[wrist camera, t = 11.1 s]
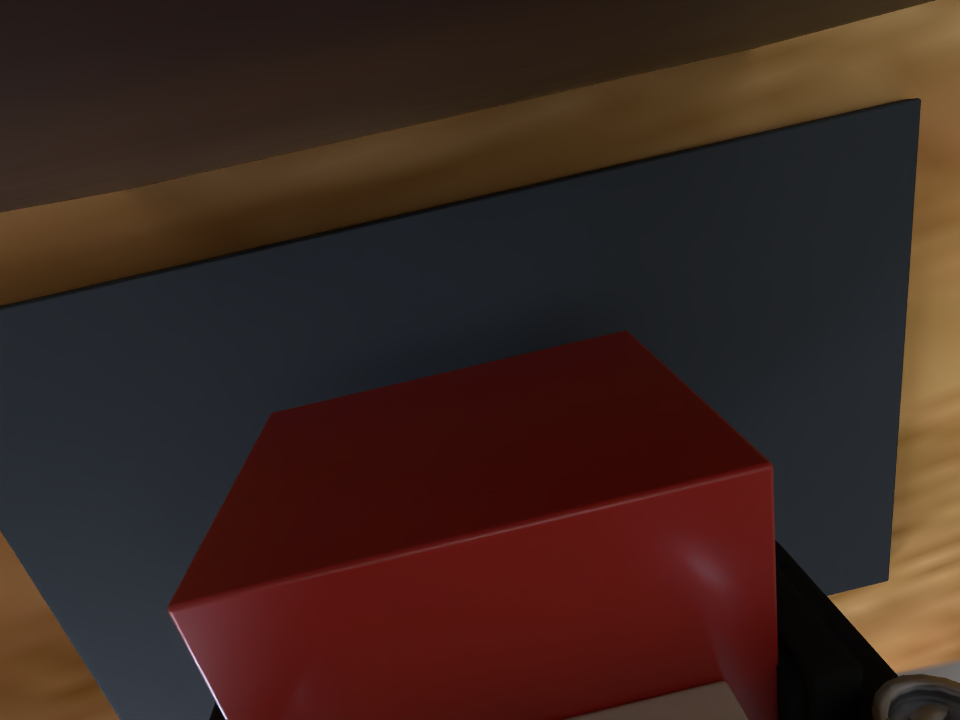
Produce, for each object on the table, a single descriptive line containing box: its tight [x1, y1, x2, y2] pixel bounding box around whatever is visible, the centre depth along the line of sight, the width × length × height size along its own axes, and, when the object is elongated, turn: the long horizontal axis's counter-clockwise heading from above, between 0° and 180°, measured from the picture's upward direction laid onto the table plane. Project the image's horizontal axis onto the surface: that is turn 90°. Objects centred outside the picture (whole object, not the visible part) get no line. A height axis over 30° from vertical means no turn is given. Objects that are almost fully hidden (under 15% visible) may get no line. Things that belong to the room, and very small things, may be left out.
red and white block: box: [168, 331, 778, 720], centre depth 8 cm, size 8×6×7 cm
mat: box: [0, 98, 921, 720], centre depth 13 cm, size 20×12×1 cm, turn 102°
